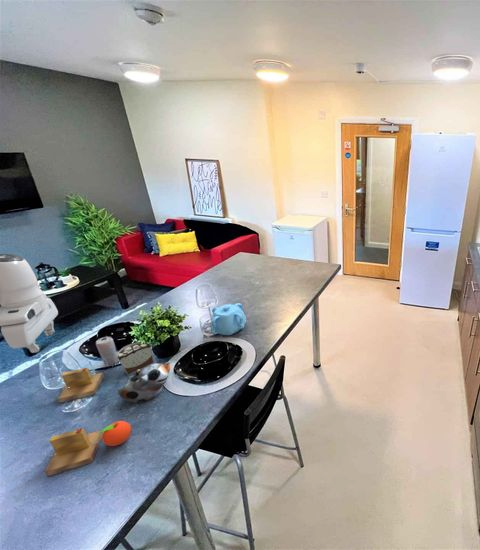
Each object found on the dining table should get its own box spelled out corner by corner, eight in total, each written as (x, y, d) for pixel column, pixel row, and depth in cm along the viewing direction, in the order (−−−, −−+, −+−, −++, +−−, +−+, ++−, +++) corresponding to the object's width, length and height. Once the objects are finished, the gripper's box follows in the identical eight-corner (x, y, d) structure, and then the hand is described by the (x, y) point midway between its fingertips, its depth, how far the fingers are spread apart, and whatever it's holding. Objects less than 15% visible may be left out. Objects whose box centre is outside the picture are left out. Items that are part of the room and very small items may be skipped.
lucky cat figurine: (146, 375, 117) (158, 347, 115) (170, 390, 117) (183, 362, 114) (109, 395, 102) (122, 363, 100) (137, 412, 102) (151, 381, 100)
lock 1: (58, 456, 85) (49, 440, 82) (60, 451, 86) (51, 435, 83) (89, 447, 88) (80, 432, 85) (90, 442, 89) (83, 427, 86)
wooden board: (44, 477, 81) (41, 472, 80) (60, 446, 90) (57, 441, 89) (95, 461, 86) (92, 456, 85) (106, 433, 94) (103, 428, 93)
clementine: (100, 457, 87) (91, 441, 84) (104, 438, 92) (96, 423, 89) (133, 444, 91) (126, 429, 88) (135, 427, 96) (128, 412, 93)
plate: (57, 403, 104) (55, 398, 103) (69, 383, 112) (67, 379, 111) (97, 393, 108) (95, 389, 107) (105, 375, 116) (104, 371, 115)
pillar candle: (120, 357, 126) (111, 334, 122) (122, 363, 123) (113, 340, 118) (104, 362, 123) (94, 339, 118) (105, 369, 120) (95, 345, 115)
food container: (152, 355, 128) (145, 337, 124) (157, 361, 125) (151, 342, 121) (117, 370, 119) (110, 351, 115) (123, 377, 116) (115, 358, 112)
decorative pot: (245, 336, 144) (242, 312, 138) (210, 340, 139) (205, 316, 134) (247, 318, 158) (244, 296, 152) (215, 322, 153) (211, 300, 148)
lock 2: (68, 389, 107) (60, 375, 104) (69, 386, 108) (62, 372, 106) (92, 383, 110) (85, 370, 107) (93, 380, 111) (87, 367, 108)
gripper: (29, 292, 95) (46, 327, 101) (-11, 324, 78) (12, 364, 84) (55, 289, 98) (70, 323, 103) (22, 320, 81) (41, 359, 87)
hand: (43, 342), depth 93 cm, fingers open, 8 cm apart
